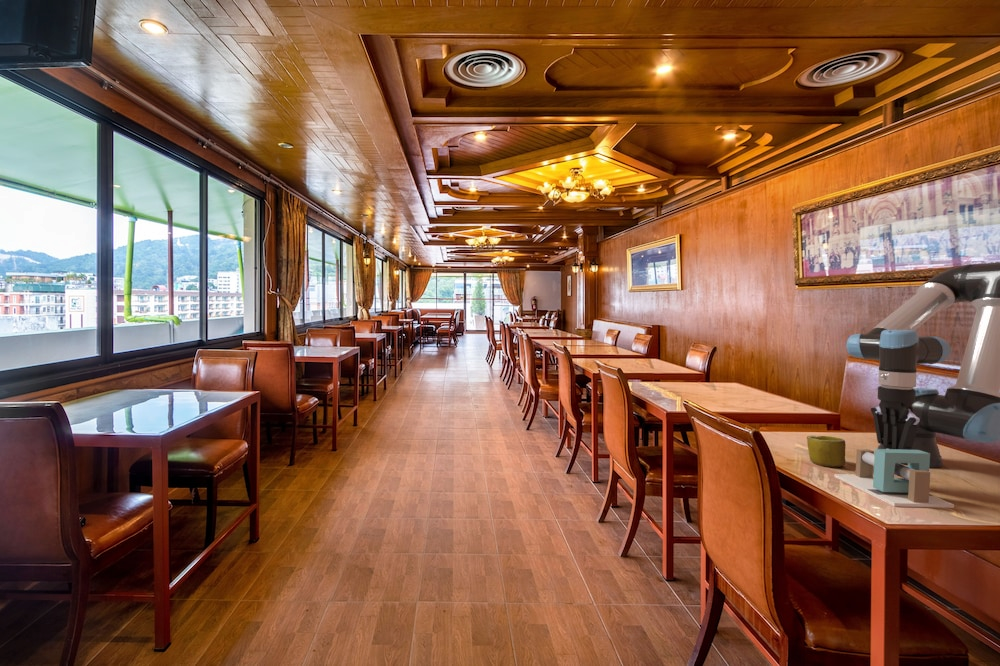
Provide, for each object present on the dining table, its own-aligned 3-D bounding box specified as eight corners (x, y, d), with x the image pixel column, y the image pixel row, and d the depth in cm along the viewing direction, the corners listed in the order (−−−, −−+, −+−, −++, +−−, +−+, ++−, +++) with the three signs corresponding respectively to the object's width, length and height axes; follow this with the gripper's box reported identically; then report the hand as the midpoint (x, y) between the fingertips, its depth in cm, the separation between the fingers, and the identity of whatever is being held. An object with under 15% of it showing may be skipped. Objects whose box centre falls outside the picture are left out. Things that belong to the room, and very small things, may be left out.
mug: (861, 465, 126) (846, 431, 128) (823, 473, 128) (809, 439, 130) (840, 460, 138) (827, 429, 140) (805, 467, 140) (793, 437, 142)
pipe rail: (834, 476, 122) (835, 448, 122) (884, 478, 122) (886, 449, 121) (894, 506, 103) (896, 472, 103) (954, 507, 103) (956, 474, 102)
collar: (872, 487, 111) (874, 448, 110) (916, 488, 110) (918, 449, 110) (883, 492, 108) (885, 452, 107) (927, 493, 107) (930, 453, 107)
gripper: (862, 383, 122) (858, 464, 123) (905, 391, 109) (901, 482, 110) (888, 383, 122) (884, 464, 123) (934, 391, 109) (930, 482, 110)
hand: (892, 473), depth 117 cm, fingers closed
